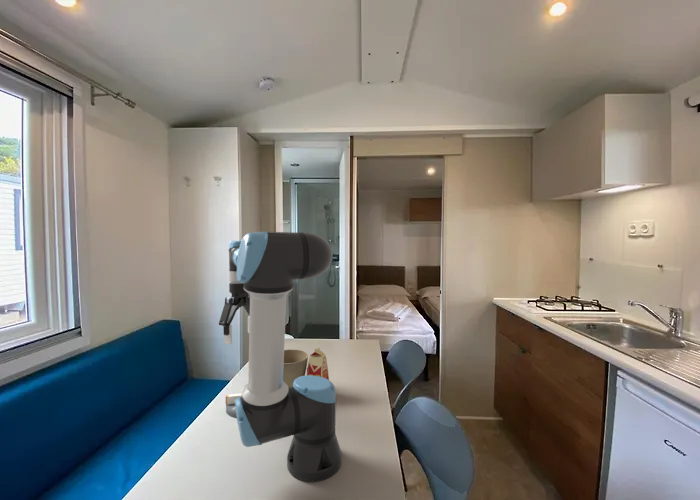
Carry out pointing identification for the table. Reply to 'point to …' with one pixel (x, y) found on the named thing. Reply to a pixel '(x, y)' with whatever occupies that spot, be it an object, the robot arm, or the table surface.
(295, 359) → the plant pot
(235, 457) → the table surface
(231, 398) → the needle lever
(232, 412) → the dial base
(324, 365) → the milk carton
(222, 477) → the table surface
